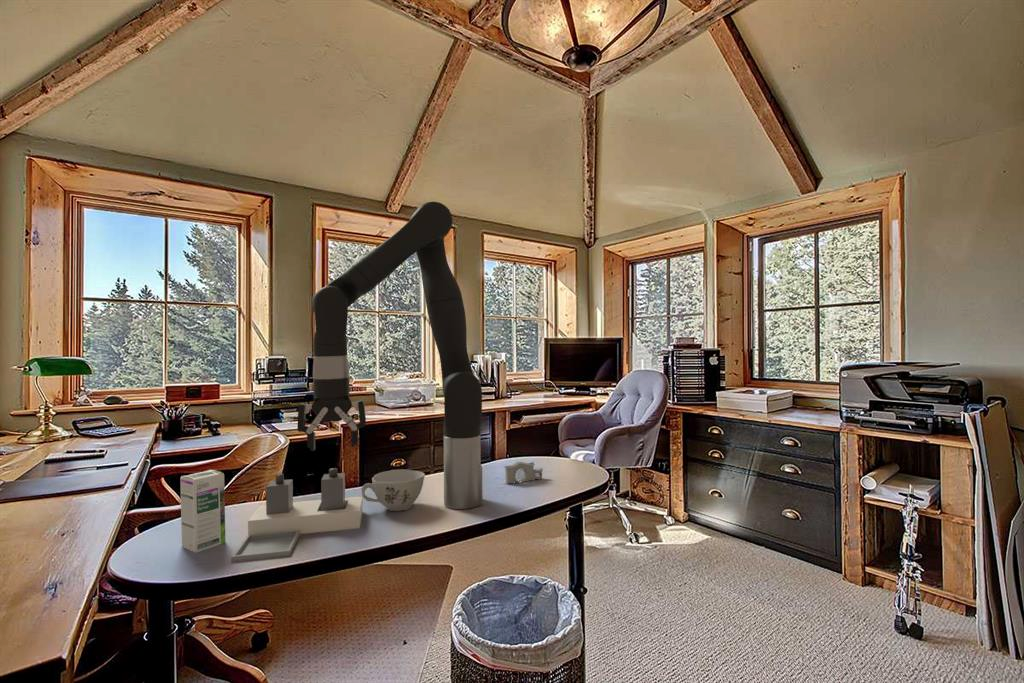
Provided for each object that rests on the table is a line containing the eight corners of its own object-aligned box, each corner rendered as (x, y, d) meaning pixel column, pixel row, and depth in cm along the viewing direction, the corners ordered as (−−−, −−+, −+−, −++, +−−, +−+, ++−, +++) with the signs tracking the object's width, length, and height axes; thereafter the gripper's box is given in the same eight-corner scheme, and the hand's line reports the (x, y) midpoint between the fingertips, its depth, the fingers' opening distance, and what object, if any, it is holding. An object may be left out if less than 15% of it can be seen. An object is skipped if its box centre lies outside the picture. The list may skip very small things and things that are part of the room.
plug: (345, 516, 109) (344, 465, 109) (343, 523, 105) (342, 471, 105) (324, 517, 108) (324, 467, 108) (321, 525, 104) (321, 472, 104)
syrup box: (195, 554, 91) (194, 479, 91) (180, 547, 94) (179, 474, 94) (225, 543, 96) (225, 472, 96) (211, 537, 99) (210, 468, 99)
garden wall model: (540, 477, 141) (540, 458, 141) (543, 479, 139) (543, 459, 139) (504, 483, 136) (504, 463, 136) (506, 485, 134) (506, 464, 134)
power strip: (362, 513, 113) (362, 463, 113) (359, 529, 103) (359, 475, 103) (261, 522, 107) (260, 470, 107) (248, 540, 98) (247, 483, 98)
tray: (299, 536, 100) (299, 530, 100) (289, 556, 90) (289, 550, 90) (247, 541, 97) (247, 535, 97) (231, 563, 88) (231, 556, 88)
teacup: (418, 496, 125) (418, 466, 125) (430, 511, 113) (430, 478, 113) (358, 504, 119) (358, 472, 119) (364, 521, 107) (364, 486, 107)
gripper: (365, 373, 112) (367, 442, 112) (300, 376, 108) (302, 447, 108) (363, 376, 104) (365, 449, 104) (293, 379, 101) (295, 455, 101)
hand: (333, 448), depth 106 cm, fingers open, 8 cm apart
